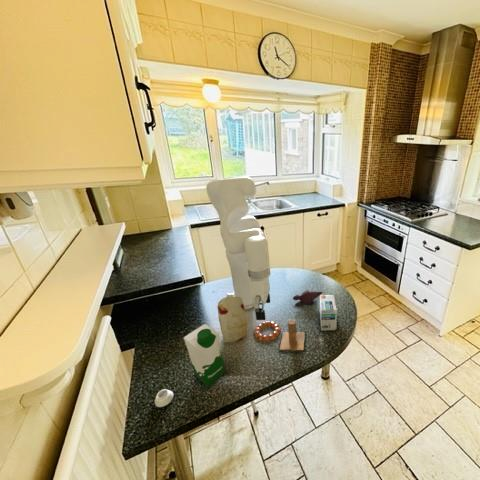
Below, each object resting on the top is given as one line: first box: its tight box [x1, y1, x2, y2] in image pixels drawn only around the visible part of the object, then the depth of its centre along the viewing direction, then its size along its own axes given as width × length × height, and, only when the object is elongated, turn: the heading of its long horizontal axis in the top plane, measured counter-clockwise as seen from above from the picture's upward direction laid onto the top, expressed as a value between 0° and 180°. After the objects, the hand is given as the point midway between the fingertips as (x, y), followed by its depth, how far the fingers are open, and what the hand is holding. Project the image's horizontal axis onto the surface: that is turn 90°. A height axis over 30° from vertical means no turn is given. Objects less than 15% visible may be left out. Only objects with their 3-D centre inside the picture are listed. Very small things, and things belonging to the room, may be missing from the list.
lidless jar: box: [154, 388, 174, 408], centre depth 79 cm, size 5×3×5 cm
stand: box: [279, 318, 306, 351], centre depth 99 cm, size 9×9×11 cm
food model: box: [216, 296, 248, 343], centre depth 99 cm, size 10×7×20 cm
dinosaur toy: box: [292, 289, 324, 307], centre depth 122 cm, size 7×7×15 cm
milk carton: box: [183, 323, 226, 388], centre depth 84 cm, size 9×9×20 cm
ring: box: [253, 320, 281, 342], centre depth 105 cm, size 10×10×2 cm
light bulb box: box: [319, 294, 338, 332], centre depth 110 cm, size 11×7×11 cm, turn 4°
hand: (263, 310), depth 96 cm, fingers open, 9 cm apart
